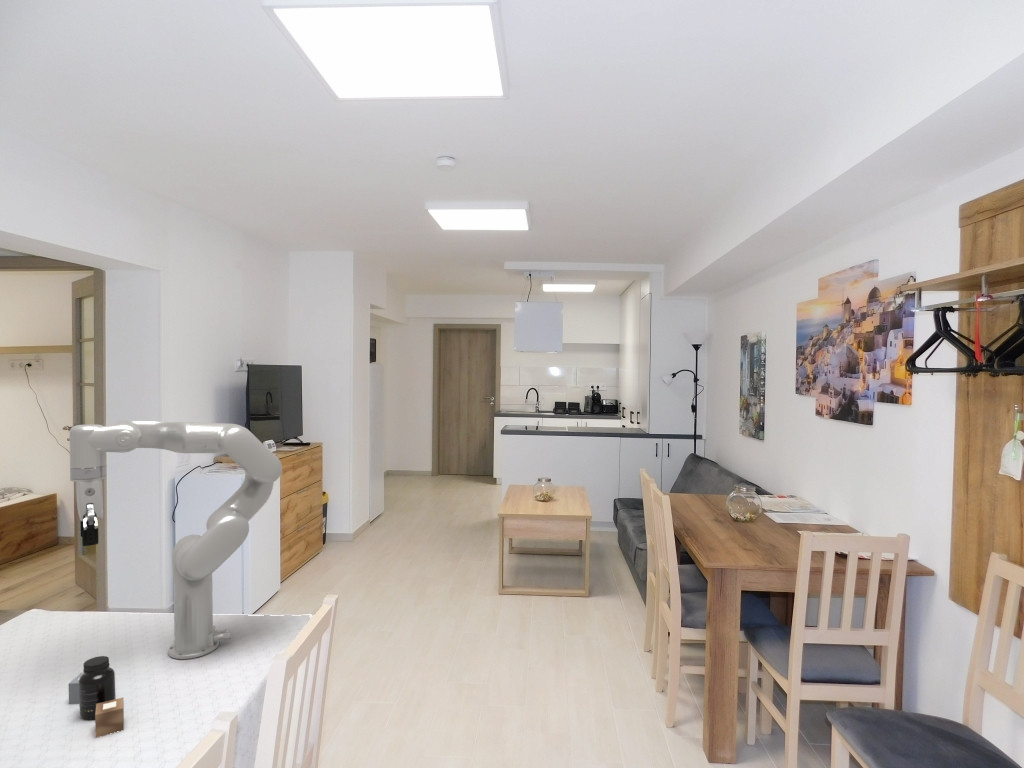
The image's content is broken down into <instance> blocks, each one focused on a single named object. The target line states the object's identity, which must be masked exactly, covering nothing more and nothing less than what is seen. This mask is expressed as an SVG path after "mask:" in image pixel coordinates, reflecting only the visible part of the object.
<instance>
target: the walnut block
mask: <svg viewBox="0 0 1024 768" xmlns="http://www.w3.org/2000/svg"><path fill="white" fill-rule="evenodd" d="M124 702H125V701H124V697H119V698H116V699H114V700H110V701H106V702H102V703H98V704H96V712H95V719H94V720H95V723H94V724H95V725H94V726H95V729H94V731H95V738H100V736H101V737H104V736H108V735H111V734H110V733H112V734H115V733H118V732H117V731H119V732H122V731H121V730H123V731H124V725H125V724H124V723H125V717H124V716H125V715H124V714H125V711H124V710H125V708H124V706H125V705H124V704H125V703H124ZM114 732H115V733H114ZM107 734H108V735H107Z"/></svg>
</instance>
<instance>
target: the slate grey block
mask: <svg viewBox="0 0 1024 768" xmlns="http://www.w3.org/2000/svg"><path fill="white" fill-rule="evenodd" d="M83 674H84V672H80V673H78V675H76V676H75V677H74V678H73V679H72V680H71V681H70V682H69V683H68V685H67V686H68V705H79V679H80V677H81V676H82V675H83Z"/></svg>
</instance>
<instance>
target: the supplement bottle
mask: <svg viewBox="0 0 1024 768" xmlns="http://www.w3.org/2000/svg"><path fill="white" fill-rule="evenodd" d="M82 669H83V670H82V673H84V674H83V675H82V676H81V677H80V679H79V704H78V706H79V716H80V718H81V719H83V720H85V721H87V720H88V721H92V720H93V721H94V720H95V712H96V704H98V703H102V702H106V701H110V700H114V699H117V698H116V697H117V696H116V672H115V670H114V669H113V668H112V667H111V665H110V659H109V657H108V656H107V655H99V656H94V657H91V658H89V659H87V660H86V661H84V662H83V668H82Z"/></svg>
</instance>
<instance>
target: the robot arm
mask: <svg viewBox="0 0 1024 768" xmlns="http://www.w3.org/2000/svg"><path fill="white" fill-rule="evenodd" d="M136 449H157V450H159V449H160V450H164V451H165V450H166V451H170V452H173V453H176V454H177V453H179V454H226V455H228V457H229V458H230V459H231V460H232V461H233V462H235V464H236V465H238V466H239V467H240V468H241V469H242V470H243V471H244V479H243V482H242V484H241V485H240V487H239V488H238V489H237V490H236V491H235V492H234V493H233V494H232V495H231V496H230V497H229V498H228V499H227V500H226V501H225V502H223V504H221V505H220V506H219V507H218V508H217V509H215V511H213V512H212V513H211V514H210V515H209V516H208V518H207V520H206V523H205V525H206V531H205V532H204V533H203V534H202V535H199V534H188V535H186V536H184V537H181V538H180V539H179V540H178V542H176V543H175V545H174V547H173V549H172V553H171V554H172V555H171V563H172V564H171V565H172V577H173V578H172V579H173V614H174V615H173V621H174V623H173V626H174V628H173V631H174V635H173V636H174V642H173V643H172V644H171V645H170V646H169V647H168V649H167V653H168V654H167V655H168V656H169V657H171V658H173V659H176V660H188V659H189V660H190V659H194V658H195V659H196V658H200V657H203V656H206V655H208V654H210V653H212V652H213V651H215V650H216V649H217V648H218V647H219V646H220V641H221V640H224V641H225V640H230V639H231V631H227V629H221V630H218V629H216V626H215V625H214V616H213V615H214V614H213V611H214V609H213V607H214V605H213V604H214V603H213V589H214V587H213V573H214V572H215V571H217V569H219V567H221V566H222V565H223V564H224V563H225V562H226V561H227V560H228V559H229V558H230V557H231V556H232V555H234V553H235V552H236V551H237V550H238V549H239V548H240V547H241V546H242V545H243V544H244V542H245V541H246V539H247V538H248V535H249V532H250V525H249V521H250V520H251V519H252V518H253V517H255V516H256V514H257V513H258V512H260V510H261V509H262V508H263V507H264V506H265V505H266V503H267V502H268V500H269V499H270V497H271V495H272V493H273V492H272V491H273V489H274V485H275V484H274V483H275V482H276V481H277V480H279V478H280V477H281V475H282V473H283V472H282V471H283V465H282V462H281V460H280V459H279V457H277V455H275V454H274V453H273V452H272V451H271V450H270V449H269V448H268V447H267V446H266V445H265V444H264V443H262V442H261V441H260V439H259V438H258V437H257V436H255V434H254V433H252V432H251V431H250V430H249V429H248V428H247V427H244V426H242V425H240V424H237V423H236V424H235V423H227V422H225V423H223V422H221V423H220V422H218V423H217V422H191V421H190V422H188V421H186V422H185V421H149V420H120V421H119V420H118V421H116V422H114V423H112V424H110V425H102V424H96V423H95V424H93V423H92V424H90V423H89V424H88V423H87V424H77V425H73V426H71V428H70V429H69V481H70V482H74V483H75V490H76V491H75V493H76V507H77V513H78V517H79V520H80V537H82V546H83V547H89V546H96V545H99V527H98V519H99V518H100V519H101V520H102V519H103V518H104V501H103V500H104V499H103V497H104V496H103V481H102V480H105V479H107V453H117V454H118V453H122V454H123V453H125V454H126V453H129V452H132V451H134V450H136Z"/></svg>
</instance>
